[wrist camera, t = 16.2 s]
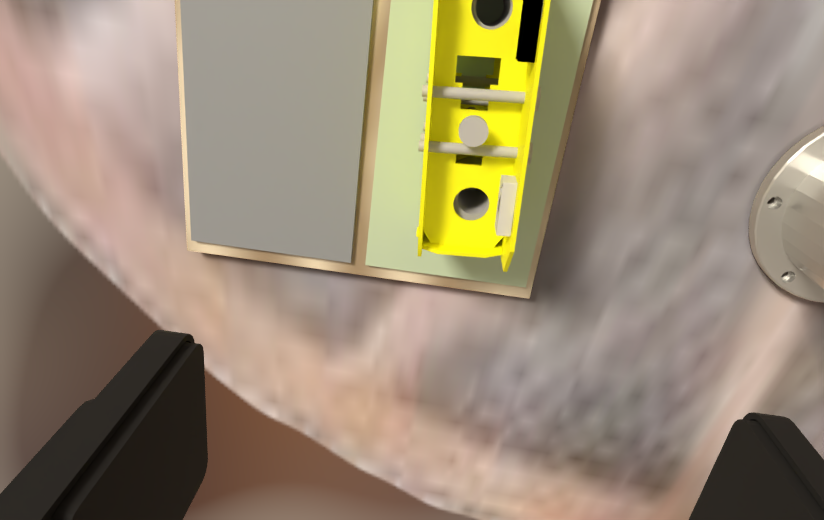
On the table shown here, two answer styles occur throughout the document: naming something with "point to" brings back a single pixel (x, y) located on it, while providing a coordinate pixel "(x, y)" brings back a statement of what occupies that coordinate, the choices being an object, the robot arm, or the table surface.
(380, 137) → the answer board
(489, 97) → the yellow toy chassis
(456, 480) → the table surface
